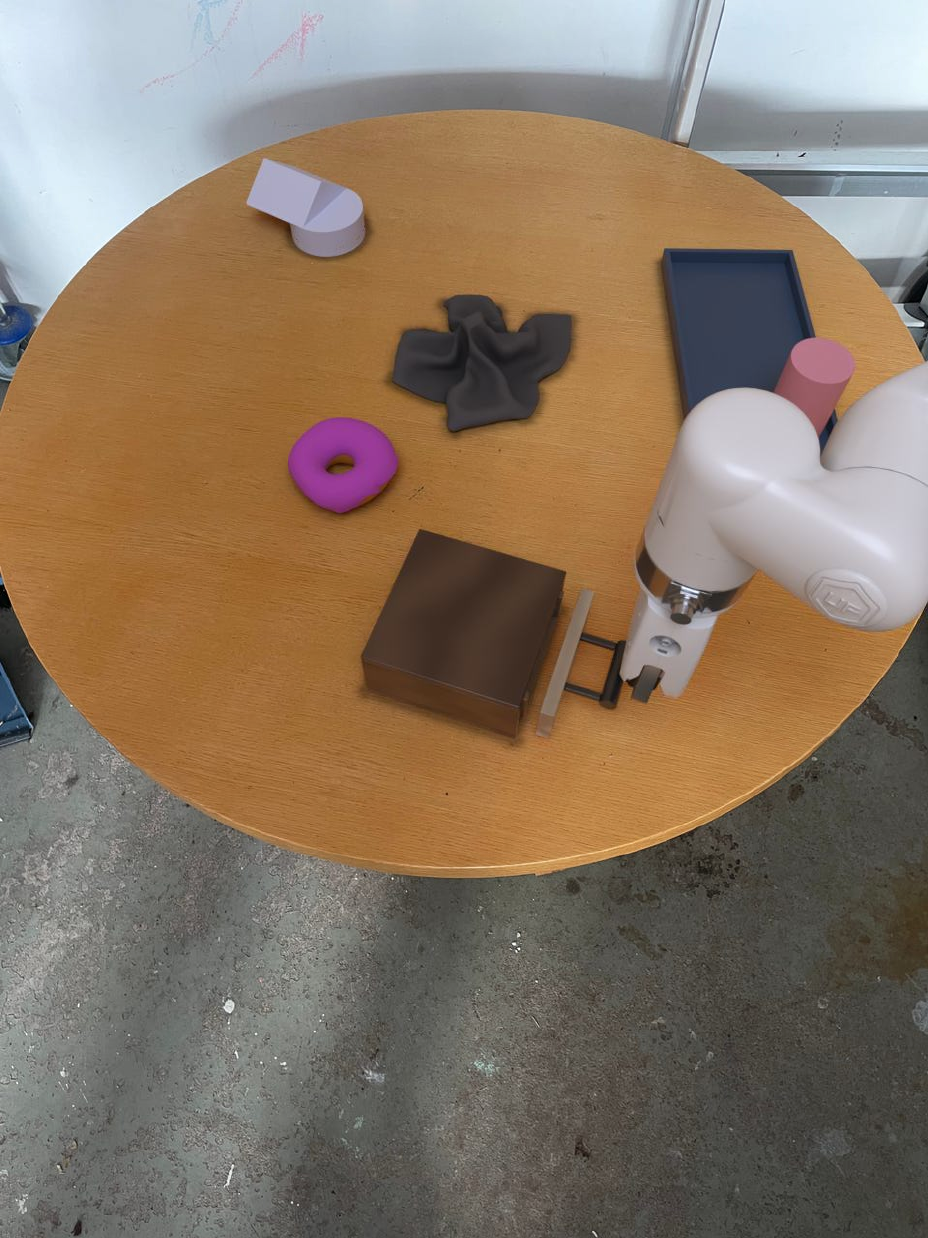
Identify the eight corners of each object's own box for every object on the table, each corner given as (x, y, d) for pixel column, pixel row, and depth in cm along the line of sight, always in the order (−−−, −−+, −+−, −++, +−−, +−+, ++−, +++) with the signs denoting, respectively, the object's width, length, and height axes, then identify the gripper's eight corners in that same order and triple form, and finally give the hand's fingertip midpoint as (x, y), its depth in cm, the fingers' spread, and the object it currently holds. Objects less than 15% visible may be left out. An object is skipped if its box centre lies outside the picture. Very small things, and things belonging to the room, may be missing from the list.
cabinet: (559, 609, 80) (566, 571, 75) (514, 739, 74) (519, 708, 68) (422, 568, 82) (419, 527, 77) (367, 691, 76) (360, 656, 70)
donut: (277, 467, 88) (268, 437, 84) (361, 423, 91) (357, 392, 87) (329, 535, 84) (323, 506, 80) (416, 487, 87) (414, 457, 83)
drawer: (636, 633, 78) (646, 606, 74) (601, 756, 72) (609, 734, 68) (458, 580, 81) (458, 551, 77) (410, 694, 75) (407, 669, 71)
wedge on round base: (251, 228, 107) (336, 266, 104) (239, 177, 101) (329, 215, 98) (296, 190, 111) (379, 225, 107) (287, 138, 105) (375, 174, 102)
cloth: (486, 457, 89) (488, 415, 84) (356, 371, 95) (350, 327, 90) (612, 340, 98) (621, 295, 92) (485, 268, 104) (487, 222, 98)
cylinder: (821, 418, 91) (859, 346, 83) (813, 460, 88) (851, 389, 80) (764, 404, 92) (796, 331, 84) (754, 445, 89) (786, 373, 81)
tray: (839, 467, 89) (847, 453, 87) (690, 465, 89) (695, 451, 87) (786, 264, 104) (792, 249, 102) (660, 262, 104) (664, 247, 102)
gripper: (731, 673, 52) (661, 773, 68) (772, 485, 59) (700, 616, 75) (610, 635, 53) (569, 742, 69) (664, 455, 60) (616, 591, 76)
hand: (637, 676), depth 72 cm, fingers closed
